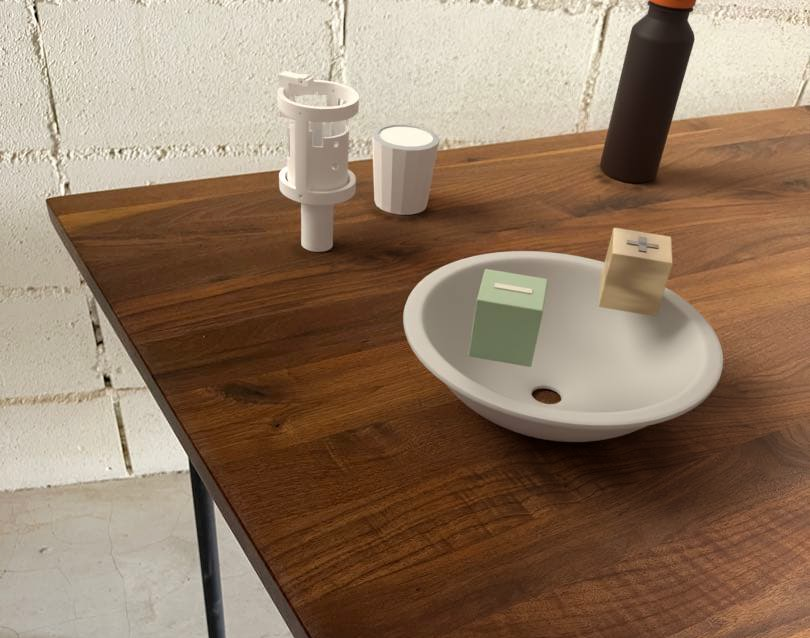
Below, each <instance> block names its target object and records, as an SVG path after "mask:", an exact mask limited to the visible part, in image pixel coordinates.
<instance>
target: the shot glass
mask: <svg viewBox="0 0 810 638" xmlns="http://www.w3.org/2000/svg"><path fill="white" fill-rule="evenodd" d="M440 140H441V139H440V138H439V136H438V134H437V133H435V132H434V131H432V130H430V129H429V128H426V127H422V126H420V125H414V124H408V123H391V124H385V125H381V126H379V127H377V128H375V129H373V131H372V132H371V146H372V175H373V199H374V200H373V201H374V203H375V206H376V207H377V208H379V209H380V210H381V211H384V212H387V213H389V214H393V215H400V216H401V215H402V216H405V215H407V216H408V215H417V214H419V213H421V212H422V213H423V212H424V211H425V210H426V209H427V206H428V204H429V203H428V202H429V197H430V191H431V186H432V182H433V176H434V170H435V165H436V162H437V161H436V160H437V155H438V150H439V146H440V145H439V144H440Z"/></svg>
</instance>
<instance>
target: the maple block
mask: <svg viewBox="0 0 810 638" xmlns="http://www.w3.org/2000/svg"><path fill="white" fill-rule="evenodd" d="M672 245H673V244H672V236H668V235H663V234H657V233H650V232H646V231H638V230H632V229H626V228H621V227H613V228H612V231H611V237H610V240H609V243H608V247H607V251H606V255H605V259H604V262H605V263H604V266H603V270H602V274H601V278H600V289H599V304H598V307H602V308H608V309H614V310H620V311H626V312H632V313H638V314H643V315H649V316H656V315H657V312H658V309H659V305H660V302H661V299H662V296H663V293H664V290H665V287H667V283H668V279H669V277H670V274H671V271H672V267H673V265H674V264H673V263H674V262H673V248H672V247H673V246H672Z"/></svg>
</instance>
